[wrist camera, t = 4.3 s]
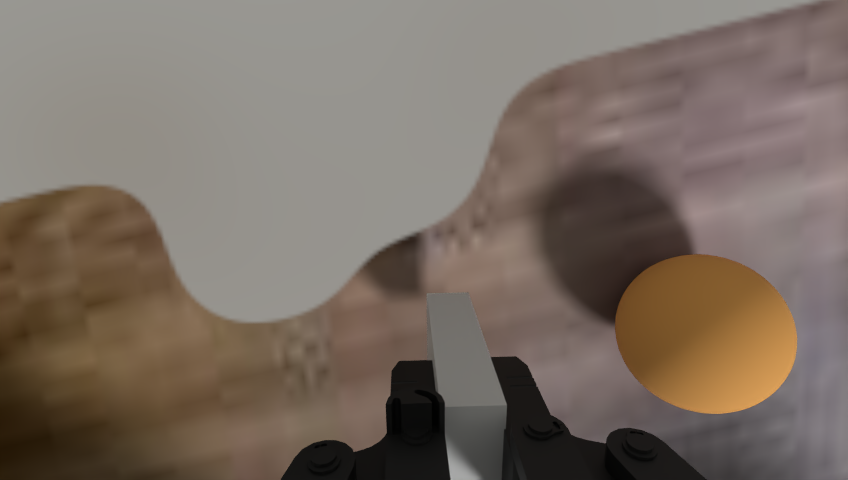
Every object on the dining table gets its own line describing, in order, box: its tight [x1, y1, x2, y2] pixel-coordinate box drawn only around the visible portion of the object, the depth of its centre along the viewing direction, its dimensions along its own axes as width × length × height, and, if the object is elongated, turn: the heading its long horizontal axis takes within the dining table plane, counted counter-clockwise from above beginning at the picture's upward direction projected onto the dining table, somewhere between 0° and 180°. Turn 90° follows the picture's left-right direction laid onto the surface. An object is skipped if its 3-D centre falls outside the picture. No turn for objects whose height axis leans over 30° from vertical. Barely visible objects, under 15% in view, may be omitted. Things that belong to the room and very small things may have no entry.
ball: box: [615, 254, 797, 414], centre depth 17 cm, size 6×6×6 cm
